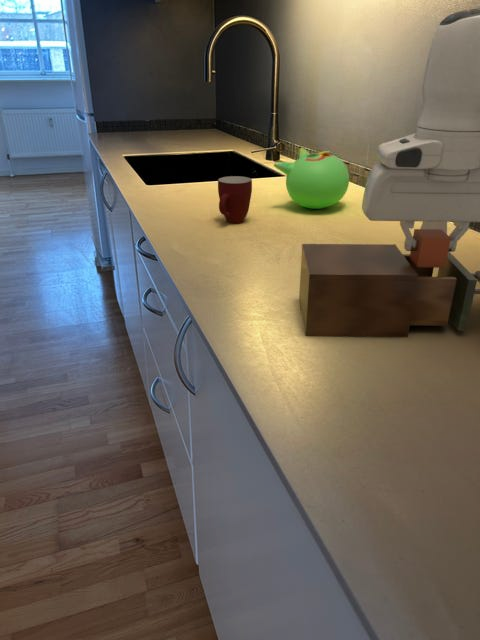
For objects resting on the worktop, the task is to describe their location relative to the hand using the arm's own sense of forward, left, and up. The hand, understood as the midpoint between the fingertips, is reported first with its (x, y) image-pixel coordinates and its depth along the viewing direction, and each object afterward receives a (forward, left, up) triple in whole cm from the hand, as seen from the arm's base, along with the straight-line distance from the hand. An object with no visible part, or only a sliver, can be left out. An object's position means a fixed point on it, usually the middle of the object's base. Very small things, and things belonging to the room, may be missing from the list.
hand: (428, 250), depth 74 cm
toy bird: (+9, -65, -11) cm, 67 cm away
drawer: (-1, 0, -10) cm, 10 cm away
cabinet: (+10, 0, -11) cm, 15 cm away
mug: (+30, -50, -11) cm, 60 cm away
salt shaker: (-12, -32, -11) cm, 36 cm away
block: (0, 0, -2) cm, 2 cm away
